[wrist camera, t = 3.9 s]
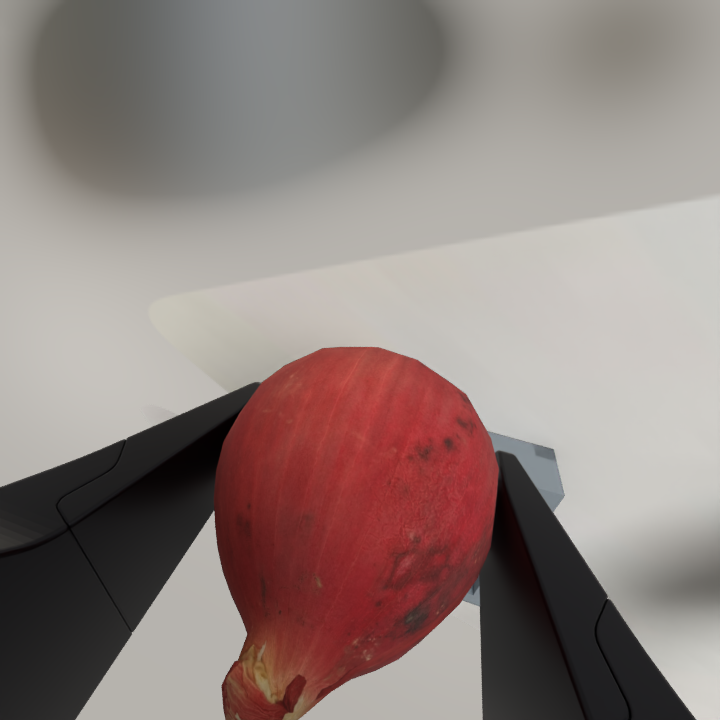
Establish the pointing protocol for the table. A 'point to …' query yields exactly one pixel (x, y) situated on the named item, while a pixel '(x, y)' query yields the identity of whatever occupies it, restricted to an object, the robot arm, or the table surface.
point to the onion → (346, 521)
